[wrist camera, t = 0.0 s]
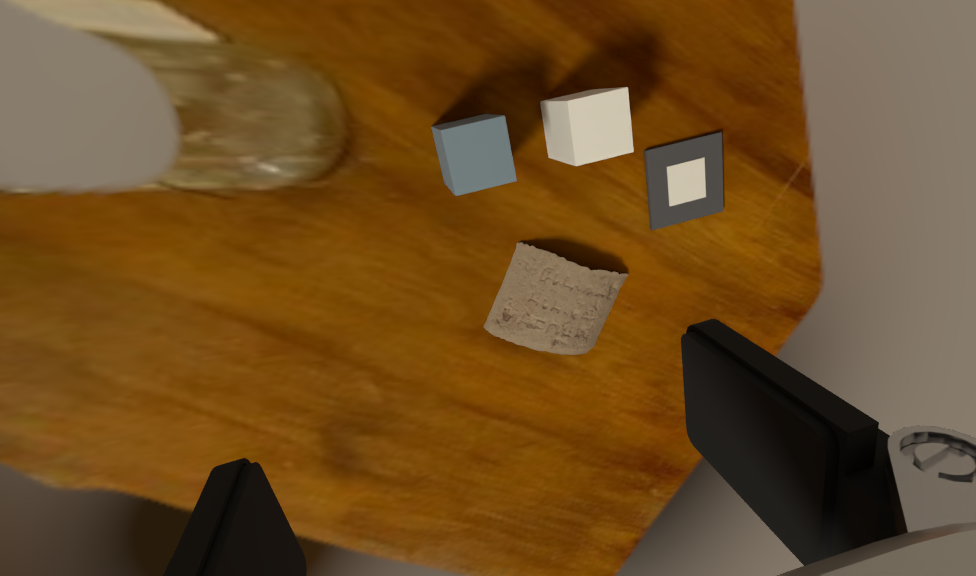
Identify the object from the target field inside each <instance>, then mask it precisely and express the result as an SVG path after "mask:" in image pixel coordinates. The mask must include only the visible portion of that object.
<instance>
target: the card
mask: <svg viewBox="0 0 976 576" xmlns="http://www.w3.org/2000/svg"><path fill="white" fill-rule="evenodd" d="M644 154H645V166H646V179H647V191H648V204H649V216H650V229H651V230H655V229H659V228H662V227H666V226H670V225H673V224H677V223H681V222H685V221H688V220H692V219H696V218H699V217H703V216H707V215H711V214H714V213H718V212H722V211H724V208H723V162H722V132H717V133H713V134H709V135H705V136H701V137H697V138H693V139H689V140H685V141H680V142H676V143H672V144H668V145H664V146H660V147H656V148H652V149H648V150H644Z"/></svg>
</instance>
